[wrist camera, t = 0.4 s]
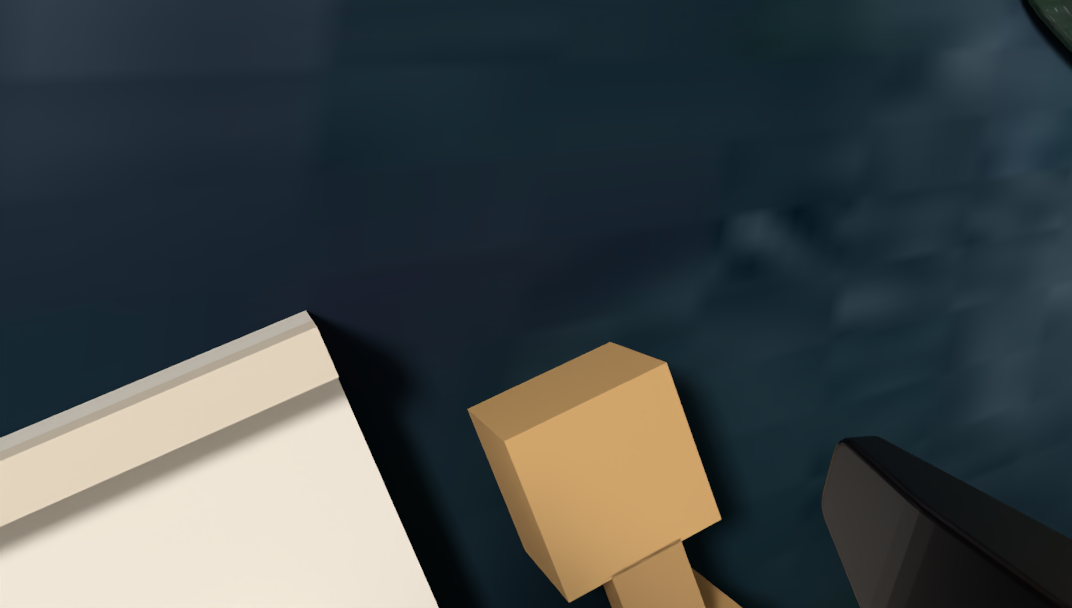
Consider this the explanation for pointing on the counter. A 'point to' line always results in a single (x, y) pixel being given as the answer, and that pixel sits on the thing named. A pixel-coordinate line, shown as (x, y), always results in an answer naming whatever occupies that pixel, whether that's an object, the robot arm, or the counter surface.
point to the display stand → (207, 492)
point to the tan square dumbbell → (604, 479)
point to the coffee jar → (1056, 18)
